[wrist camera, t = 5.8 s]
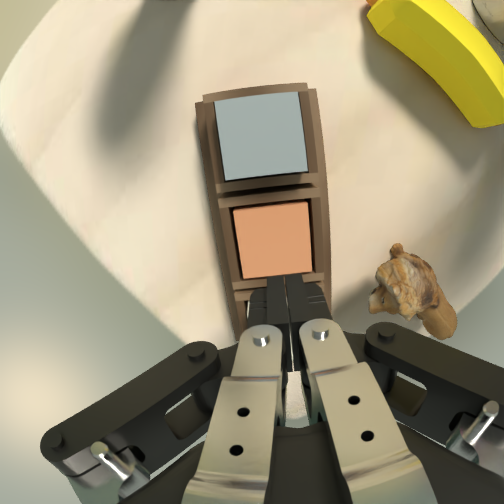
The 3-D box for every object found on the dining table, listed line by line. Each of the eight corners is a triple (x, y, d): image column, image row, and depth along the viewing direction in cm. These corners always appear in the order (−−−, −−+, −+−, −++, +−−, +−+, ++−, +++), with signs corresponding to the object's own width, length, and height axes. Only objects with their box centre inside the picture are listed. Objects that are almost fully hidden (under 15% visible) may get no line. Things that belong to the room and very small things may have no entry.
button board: (312, 92, 19) (324, 79, 15) (327, 322, 26) (337, 351, 22) (199, 105, 19) (184, 96, 15) (237, 331, 27) (233, 362, 23)
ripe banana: (376, -19, 14) (343, 20, 16) (402, -50, 7) (367, -14, 10) (498, 100, 17) (478, 147, 19) (539, 99, 10) (523, 153, 13)
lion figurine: (337, 267, 24) (369, 326, 16) (371, 219, 22) (422, 258, 14) (428, 324, 26) (464, 375, 18) (455, 288, 25) (500, 333, 16)
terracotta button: (301, 195, 20) (307, 203, 17) (306, 256, 22) (312, 271, 19) (236, 203, 20) (233, 211, 18) (245, 262, 22) (243, 278, 19)
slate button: (292, 99, 16) (297, 91, 14) (301, 167, 18) (307, 171, 15) (221, 108, 17) (214, 101, 14) (230, 175, 18) (225, 180, 16)
